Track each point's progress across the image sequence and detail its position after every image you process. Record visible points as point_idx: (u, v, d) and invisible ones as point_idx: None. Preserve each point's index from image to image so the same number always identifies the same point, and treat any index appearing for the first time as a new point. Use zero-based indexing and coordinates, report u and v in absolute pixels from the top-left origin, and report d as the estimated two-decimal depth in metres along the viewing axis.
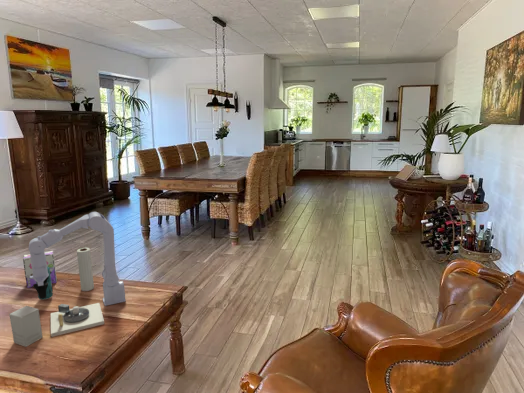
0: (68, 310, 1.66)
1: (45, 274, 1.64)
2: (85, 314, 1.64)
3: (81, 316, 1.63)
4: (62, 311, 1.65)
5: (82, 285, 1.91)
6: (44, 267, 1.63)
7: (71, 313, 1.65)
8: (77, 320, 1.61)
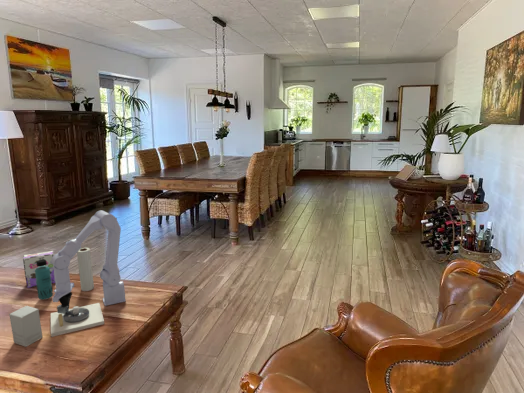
0: (67, 310, 1.66)
1: (65, 290, 1.64)
2: (85, 314, 1.65)
3: (82, 316, 1.63)
4: (61, 312, 1.65)
5: (82, 285, 1.91)
6: (64, 283, 1.63)
7: (70, 313, 1.65)
8: (78, 320, 1.61)
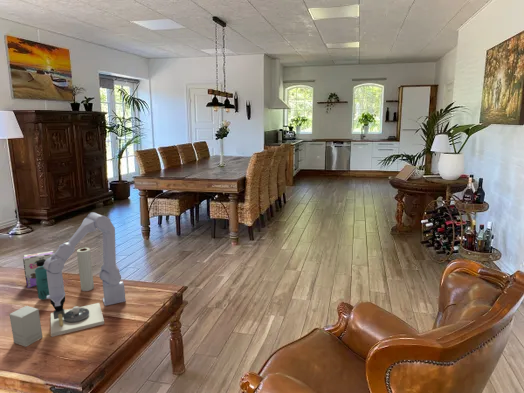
0: (64, 314, 1.63)
1: (62, 294, 1.61)
2: (86, 311, 1.67)
3: (85, 313, 1.65)
4: None
5: (82, 285, 1.91)
6: (61, 286, 1.60)
7: (70, 315, 1.64)
8: (85, 317, 1.63)
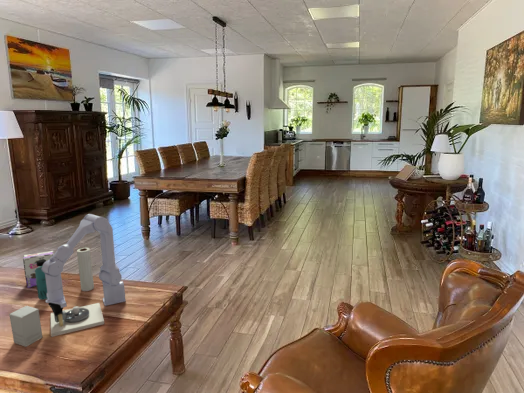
0: None
1: (62, 295, 1.59)
2: (85, 309, 1.68)
3: (86, 311, 1.67)
4: None
5: (82, 285, 1.91)
6: (61, 288, 1.59)
7: (70, 316, 1.63)
8: (88, 314, 1.65)
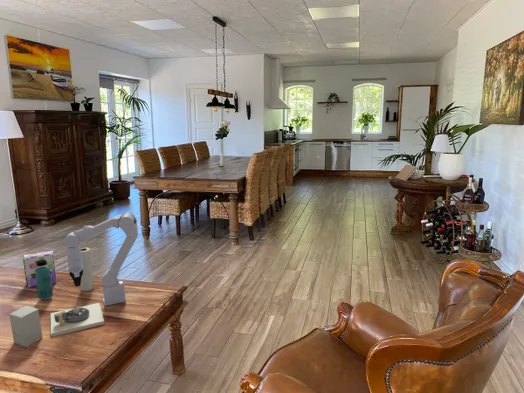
0: None
1: (80, 266, 1.74)
2: (85, 309, 1.68)
3: (86, 311, 1.67)
4: None
5: (82, 285, 1.91)
6: (79, 259, 1.73)
7: (70, 316, 1.63)
8: (88, 314, 1.65)
